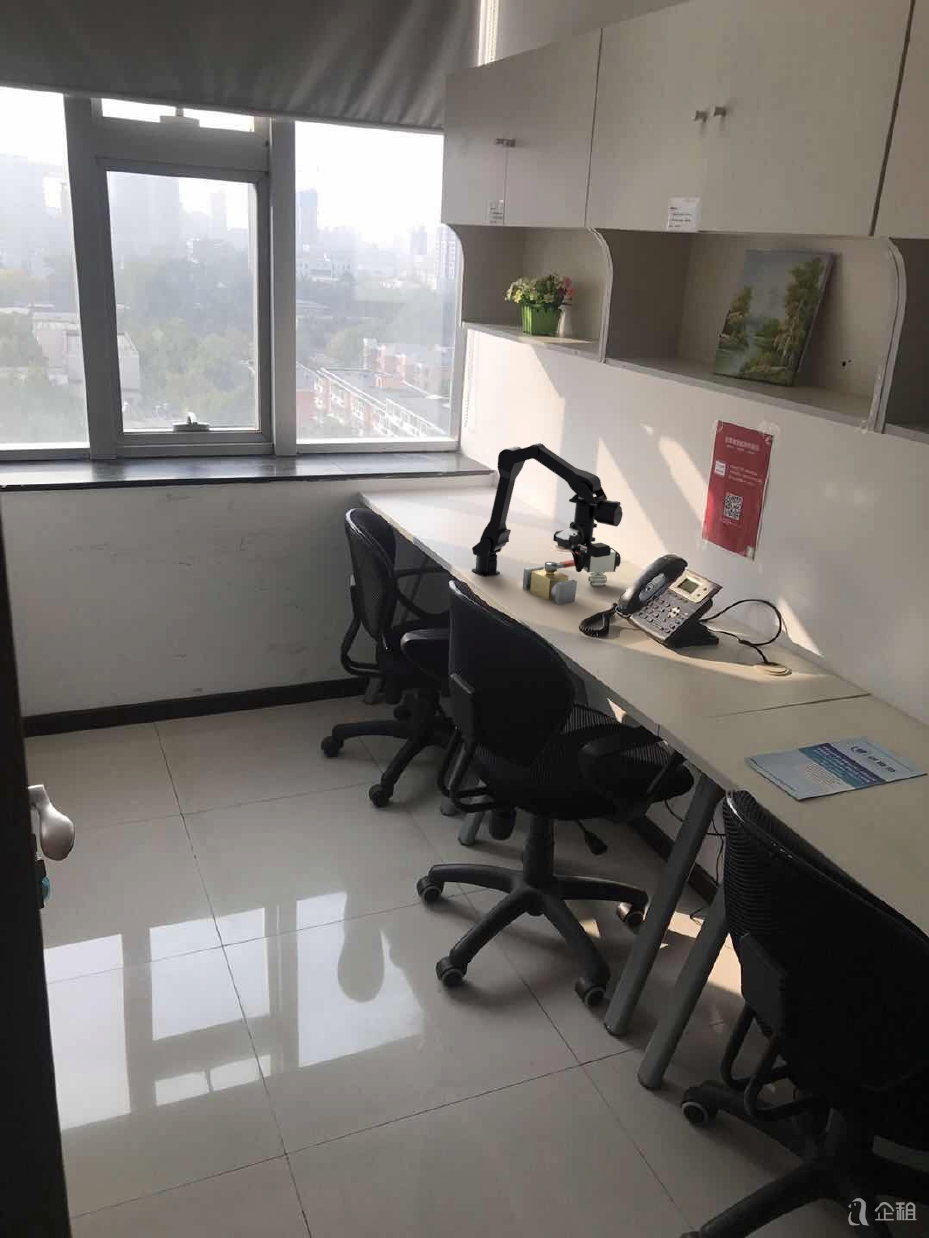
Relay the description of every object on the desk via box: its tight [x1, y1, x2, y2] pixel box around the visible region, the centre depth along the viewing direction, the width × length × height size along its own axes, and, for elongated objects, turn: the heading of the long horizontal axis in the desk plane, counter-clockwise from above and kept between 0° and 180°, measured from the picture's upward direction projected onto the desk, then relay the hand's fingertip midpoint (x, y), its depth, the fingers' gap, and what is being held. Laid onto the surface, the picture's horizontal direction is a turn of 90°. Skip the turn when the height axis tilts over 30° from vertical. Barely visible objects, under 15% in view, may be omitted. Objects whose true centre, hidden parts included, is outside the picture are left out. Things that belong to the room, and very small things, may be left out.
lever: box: [544, 559, 575, 572], centre depth 284 cm, size 12×4×2 cm, turn 126°
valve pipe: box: [522, 565, 578, 606], centre depth 283 cm, size 16×7×7 cm, turn 36°
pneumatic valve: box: [582, 547, 622, 587], centre depth 294 cm, size 6×12×12 cm, turn 104°
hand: (578, 571), depth 283 cm, fingers closed
